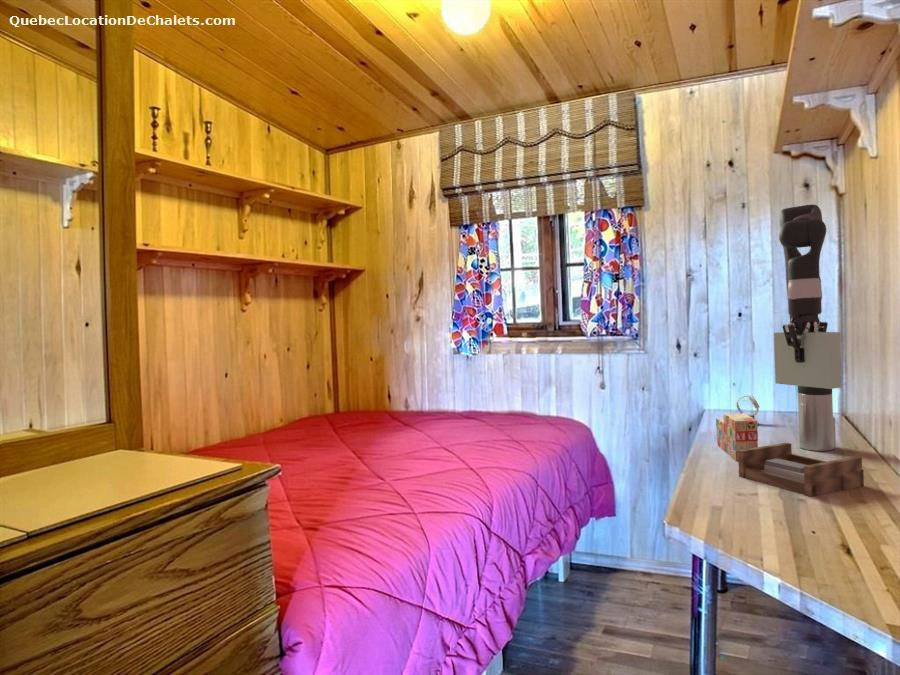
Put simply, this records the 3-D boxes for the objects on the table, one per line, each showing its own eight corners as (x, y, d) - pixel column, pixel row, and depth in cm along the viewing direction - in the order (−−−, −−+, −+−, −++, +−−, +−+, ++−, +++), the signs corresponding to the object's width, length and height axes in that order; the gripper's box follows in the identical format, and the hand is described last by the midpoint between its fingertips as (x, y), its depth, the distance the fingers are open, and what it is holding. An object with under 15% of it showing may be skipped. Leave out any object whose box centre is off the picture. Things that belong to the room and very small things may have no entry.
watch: (760, 425, 225) (759, 396, 224) (737, 425, 228) (736, 396, 228) (759, 423, 230) (758, 394, 229) (736, 422, 233) (735, 394, 233)
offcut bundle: (773, 475, 160) (772, 456, 160) (825, 489, 146) (825, 469, 146) (759, 477, 159) (758, 459, 158) (811, 492, 145) (810, 471, 144)
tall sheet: (786, 382, 165) (784, 331, 165) (841, 387, 150) (840, 332, 150) (775, 383, 164) (773, 332, 163) (830, 388, 149) (828, 333, 148)
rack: (788, 467, 166) (787, 442, 166) (863, 485, 146) (863, 457, 146) (739, 476, 160) (738, 450, 160) (810, 496, 140) (809, 467, 140)
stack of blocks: (716, 446, 196) (715, 408, 196) (737, 445, 195) (735, 408, 195) (736, 461, 175) (734, 420, 175) (759, 461, 174) (757, 419, 174)
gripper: (810, 296, 162) (812, 359, 163) (771, 298, 157) (774, 363, 158) (837, 294, 155) (839, 360, 156) (797, 296, 150) (799, 364, 151)
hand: (806, 361), depth 157 cm, fingers closed on tall sheet, 4 cm apart
